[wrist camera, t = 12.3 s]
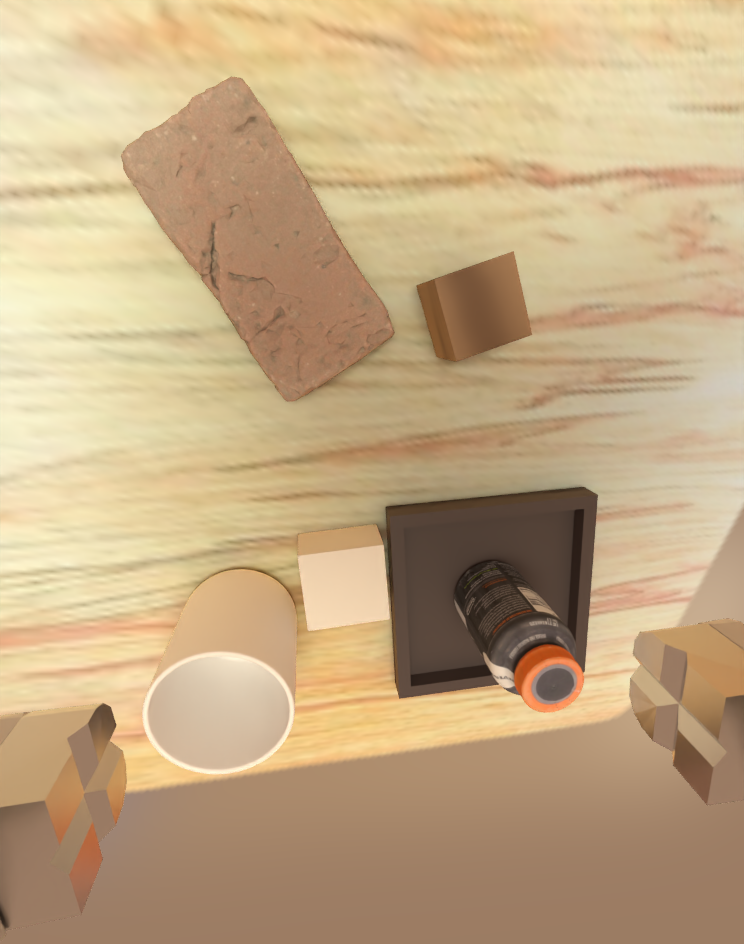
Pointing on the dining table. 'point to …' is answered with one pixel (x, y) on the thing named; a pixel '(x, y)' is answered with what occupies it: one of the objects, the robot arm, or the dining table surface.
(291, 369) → the brick
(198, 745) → the mug
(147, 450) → the dining table surface
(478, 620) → the pill bottle
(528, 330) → the walnut cube
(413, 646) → the tray
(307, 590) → the ceramic block
